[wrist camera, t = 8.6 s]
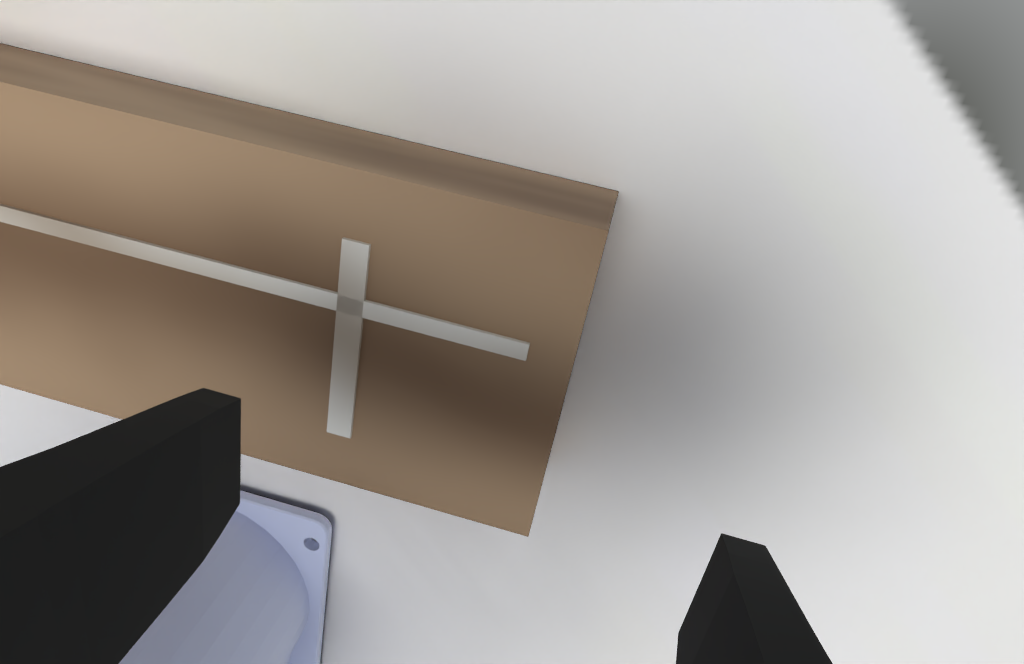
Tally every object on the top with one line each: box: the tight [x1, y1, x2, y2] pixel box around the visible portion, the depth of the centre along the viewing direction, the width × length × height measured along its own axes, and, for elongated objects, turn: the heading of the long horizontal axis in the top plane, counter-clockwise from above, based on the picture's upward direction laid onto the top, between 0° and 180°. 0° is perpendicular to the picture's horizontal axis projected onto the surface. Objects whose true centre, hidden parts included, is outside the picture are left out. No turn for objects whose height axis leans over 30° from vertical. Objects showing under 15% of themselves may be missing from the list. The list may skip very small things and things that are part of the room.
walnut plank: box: [0, 44, 618, 536], centre depth 18 cm, size 8×24×3 cm, turn 79°
